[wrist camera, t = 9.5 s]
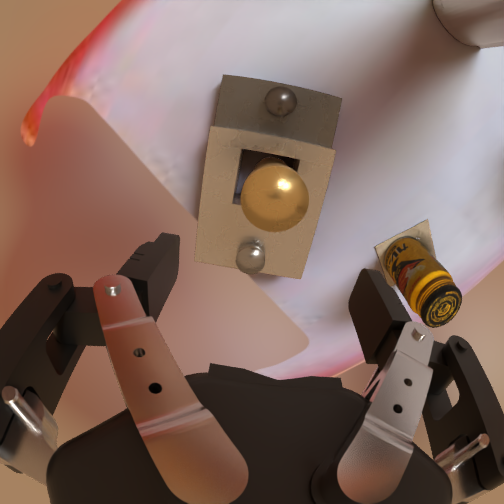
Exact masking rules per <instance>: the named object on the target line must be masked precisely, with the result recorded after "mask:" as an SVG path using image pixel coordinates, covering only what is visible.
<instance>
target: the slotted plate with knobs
mask: <svg viewBox="0 0 504 504" xmlns="http://www.w3.org/2000/svg"><path fill="white" fill-rule="evenodd" d="M341 102H342V98H339V97H335V96H332V95H328V94H325V93H321V92H317V91H313V90H309V89H305V88H301V87H296V86H292V85H287V84H282V83H277V82H272V81H266V80H260V79H254V78H247V77H240V76H232V75H223V78H222V83H221V89H220V94H219V100H218V106H217V111H216V117H215V123H214V126H210V132H209V139H208V146H207V152H206V160H205V167H204V174H203V182H202V190H201V199H200V208H199V217H198V226H197V236H196V247H195V259H194V261H197V262H203V263H208V264H213V265H219V266H225V267H230V268H236V269H239V270H241V271H242V272H244V273H246V274H255V273H258V272H259V273H265V274H271V275H277V276H283V277H289V278H295V279H301V277H302V274H303V271H304V267H305V264H306V261H307V257H308V254H309V251H310V247H311V244H312V241H313V237H314V234H315V230H316V227H317V223H318V219H319V216H320V212H321V208H322V205H323V201H324V197H325V193H326V190H327V186H328V182H329V178H330V174H331V170H332V166H333V162H334V158H335V153H336V150H334V149H332V143H333V139H334V135H335V130H336V125H337V121H338V116H339V111H340V107H341ZM243 149H248V150H254V151H260V152H265V153H270V154H276V155H281V156H285V157H290V158H295V159H294V164H293V168H292V169H293V170H295V171H296V172H297V173H298V174H299V175H300V177H301V178H302V180H303V181H304V183H305V185H306V187H307V190H308V193H309V205H308V209H307V212H306V214H305V216H304V217H303V219H302V220H301V221H300V222H299V223H298V224H297V225H295V226H294V227H292V228H290V229H288V230H286V231H282V232H268V231H264V230H261V229H259V228H257V227H255V226H254V225H253V224H252V223H250V222H249V220H248V219H247V218H246V216H245V215H244V213H243V210H242V207H241V194H237V193H236V190H237V184H238V178H239V172H240V166H241V160H242V154H243Z"/></svg>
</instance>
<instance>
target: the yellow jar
mask: <svg viewBox="0 0 504 504" xmlns="http://www.w3.org/2000/svg"><path fill="white" fill-rule="evenodd" d="M416 237H417V239H416ZM418 238H420V239H418ZM375 248H376V251H377V254H378V257H379V260H380V263H381V266H382V269H383V272H384V275H385V278H386V281H387V284H388V285H390V286H393V285H395V284H396V286H397V287H398V289H399V290H400V292H401V293H402V295H403V296H404V298H405V299H406V301H407V302H408V305H409V306H410V308H411V309H412V311H413V312H415V313H417V314H418V315H419V316H420V318H422V321H423V322H424V323H425V324H426V325H427V326H429V327H432V328H434V327H439V326H442V325H445V324H446V323H448V322H449V321H450V320H452V319H453V317H454V316H455V315H456V313H457V312H458V310H459V308H460V305H461V303H462V294H461V292H460V290H459V289H458V288H457V287H456V285H455V283H454V282H453V279H452V277H451V275H450V274H449V273H448V271H447V270H446V269H445V268H444V267H443V266H442V265H441V264H440V263H439V262H438V261H437V260H436V256H435V251H434V246H433V241H432V238H431V231H430V227H429V222H428V219H427V220H425V221H424V222H422V223H419V224H418V225H416V226H414V227H412V228H411V229H408V230H406V231H404V232H402V233H400V234H398V235H396V236H394V237H392V238H390V239H388V240H386V241H385V242H382V243H381V244H379V245H377V246H376V247H375Z"/></svg>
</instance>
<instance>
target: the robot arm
mask: <svg viewBox="0 0 504 504" xmlns="http://www.w3.org/2000/svg"><path fill="white" fill-rule="evenodd" d="M433 6H434V9H435V12H436V14H437V16H438V18H439V20H440V21H441V23H442V24H443V26H444V27H445V28H446V30H447V31H448V32H449V33H450V34H451V35H452V36H453V37H455V38H456V39H457V40H458V41H460V42H461V43H464V44H466V45H469V46H478V47H480V48H481V49H483V48H490V47H499V46H504V0H433ZM179 245H180V237H179V235H174V234H168V233H161V234H160V235H159V237H158V238H157V239H156V240H155V242H147V243H145V244H143V245H141V246H139V247H138V249H137V250H136V251H135V252H134V254H132V256H131V257H130V259H128V260H127V262H126V263H125V264H124V265H123V266H122V268H121V269H120V270H119V271H118V273H117V274H116V275H107V276H104V277H102V278H100V279H98V280H97V281H96V282H95V283H94V286H93V287H74V286H73V281H72V278H71V277H70V276H69V275H67V274H63V273H56V274H52V275H49V276H47V277H45V278H43V279H42V280H41V281H40V282H39V283H38V284H37V286H36V287H35V288H34V289H33V290H32V291H31V293H29V295H28V296H27V297H26V298H25V299H24V300H23V302H22V303H21V304H20V305H19V306H18V308H17V309H16V310H15V311H14V312H13V314H12V315H11V316H10V317H9V319H8V320H7V321H6V323H5V324H4V325H3V327H2V328H1V329H0V463H1V464H4V465H5V466H7V467H8V468H10V469H11V470H13V471H14V472H16V473H24V474H26V475H27V476H29V477H31V478H33V479H34V480H36V481H38V482H39V483H41V484H43V485H45V486H47V490H48V494H49V498H50V503H51V504H467V503H469V502H471V501H473V500H475V499H477V498H479V497H480V496H482V495H484V494H486V493H487V492H489V491H491V490H493V489H495V488H496V487H498V486H500V485H501V484H503V483H504V414H503V411H502V409H501V406H500V404H499V402H498V399H497V397H496V395H495V393H494V391H493V389H492V386H491V384H490V382H489V380H488V378H487V376H486V374H485V372H484V370H483V368H482V366H481V364H480V362H479V360H478V358H477V356H476V355H475V353H474V351H473V349H472V347H471V346H470V345H469V343H468V342H467V341H466V340H464V339H463V338H461V337H459V336H455V335H453V336H451V337H450V338H449V340H448V341H447V342H446V344H443V343H439V342H437V341H434V339H433V335H432V333H431V332H430V331H429V329H428V328H426V327H425V326H424V325H422V324H420V323H418V322H414V321H412V320H411V318H410V316H409V314H408V312H407V311H406V309H405V307H404V305H402V302H401V300H400V299H399V297H398V295H397V293H396V292H395V290H394V289H393V288H392V287H391V286H390V285H388V284H387V283H386V281H385V280H384V278H383V276H382V275H381V273H380V272H379V271H376V270H370V269H365V268H364V269H362V270H361V272H360V274H359V277H358V279H357V282H356V284H355V286H354V289H353V291H352V293H351V296H350V299H349V312H350V315H351V318H352V320H353V323H354V326H355V329H356V332H357V335H358V338H359V342H360V345H361V348H362V351H363V354H364V357H365V361H366V363H367V364H378V367H377V369H376V370H375V372H374V373H373V375H372V377H371V379H370V381H369V382H368V384H367V386H366V388H365V389H364V391H363V393H362V394H361V395H359V394H358V393H356V392H354V391H352V390H349V389H346V388H343V387H342V382H341V378H333V377H316V376H309V377H302V378H294V379H286V380H276V379H273V378H270V377H267V376H264V375H261V374H258V373H255V372H252V371H249V370H246V369H242V368H236V367H230V366H224V365H218V364H212V363H210V367H209V372H208V373H196V374H191V375H186V376H183V374H182V372H181V370H180V368H179V367H178V365H177V363H176V361H175V360H174V358H173V356H172V354H171V352H170V350H169V348H168V346H167V344H166V343H165V341H164V339H163V337H162V335H161V333H160V331H159V329H158V327H157V325H156V321H157V319H158V317H159V315H160V312H161V310H162V308H163V306H164V304H165V302H166V300H167V298H168V296H169V294H170V292H171V290H172V288H173V286H174V283H175V281H176V279H177V275H178V267H179ZM52 331H53V332H52ZM51 332H52V334H51ZM50 334H51V335H50ZM49 335H50V337H49ZM48 337H49V338H48ZM47 338H48V340H47ZM86 345H88V346H106V348H107V351H108V354H109V358H110V361H111V364H112V368H113V371H114V374H115V376H116V379H117V382H118V385H119V388H120V391H121V394H122V396H123V399H124V402H125V404H126V407H127V409H125V410H124V411H122V412H120V413H118V414H117V415H115V416H113V417H112V418H110V419H108V420H106V421H104V422H103V423H101V424H99V425H97V426H96V427H94V428H92V429H90V430H88V431H86V432H84V433H82V434H80V435H79V436H77V437H75V438H73V439H71V440H69V441H67V442H66V443H64V444H62V445H61V446H60V447H59V448H57V435H58V426H57V423H56V420H55V419H54V417H53V413H54V411H55V409H56V407H57V404H58V402H59V400H60V398H61V395H62V393H63V391H64V389H65V387H66V384H67V382H68V380H69V378H70V376H71V374H72V372H73V370H74V368H75V366H76V364H77V362H78V360H79V358H80V356H81V354H82V352H83V350H84V349H85V347H86ZM453 380H455V382H456V385H457V388H458V390H459V394H460V395H459V400H458V402H457V404H456V405H455V406H454V407H453V408H452V405H451V403H450V399H449V397H448V394H447V391H446V388H447V387H448V386H449V384H450V383H451V382H452V381H453ZM421 413H422V415H423V418H424V422H425V426H426V430H427V434H428V437H429V442H430V446H431V450H432V455H433V459H434V460H433V459H431V458H430V457H429V456H428V455H427V454H426V453H425V452H424V451H422V450H421V449H420V448H419V447H418V446H417V445H416V444H415V443H414V442H413V441H412V439H413V436H414V433H415V431H416V428H417V425H418V422H419V419H420V416H421Z"/></svg>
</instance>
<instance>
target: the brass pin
mask: <svg viewBox="0 0 504 504" xmlns="http://www.w3.org/2000/svg"><path fill="white" fill-rule="evenodd" d="M308 205H309V193H308V190H307V187H306V185H305V183H304V181H303V180H302V178H301V177H300V175H299V174H298V173H297V172H296V171H295V170H293V169H292V168H290V167H288V166H287V164H286V163H285V162H284V161H283V160H281V159H279V158H276V157H267V158H264V159H262V160H260V161H259V162H258V163H257V164H256V166H255V168H254V171H252V172H251V173H250V174H249V176H248V177H247V179H246V180H245V183H244V185H243V188H242V192H241V207H242V210H243V213H244V215H245V216H246V218H247V219H248V220H249V222H250V223H252V224H253V225H254V226H255V227H257V228H259V229H261V230H264V231H268V232H282V231H286V230H288V229H290V228H292V227H294V226H295V225H297V224H298V223H299V222H300V221H301V220H302V219H303V217H304V216H305V214H306V212H307V209H308Z"/></svg>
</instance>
